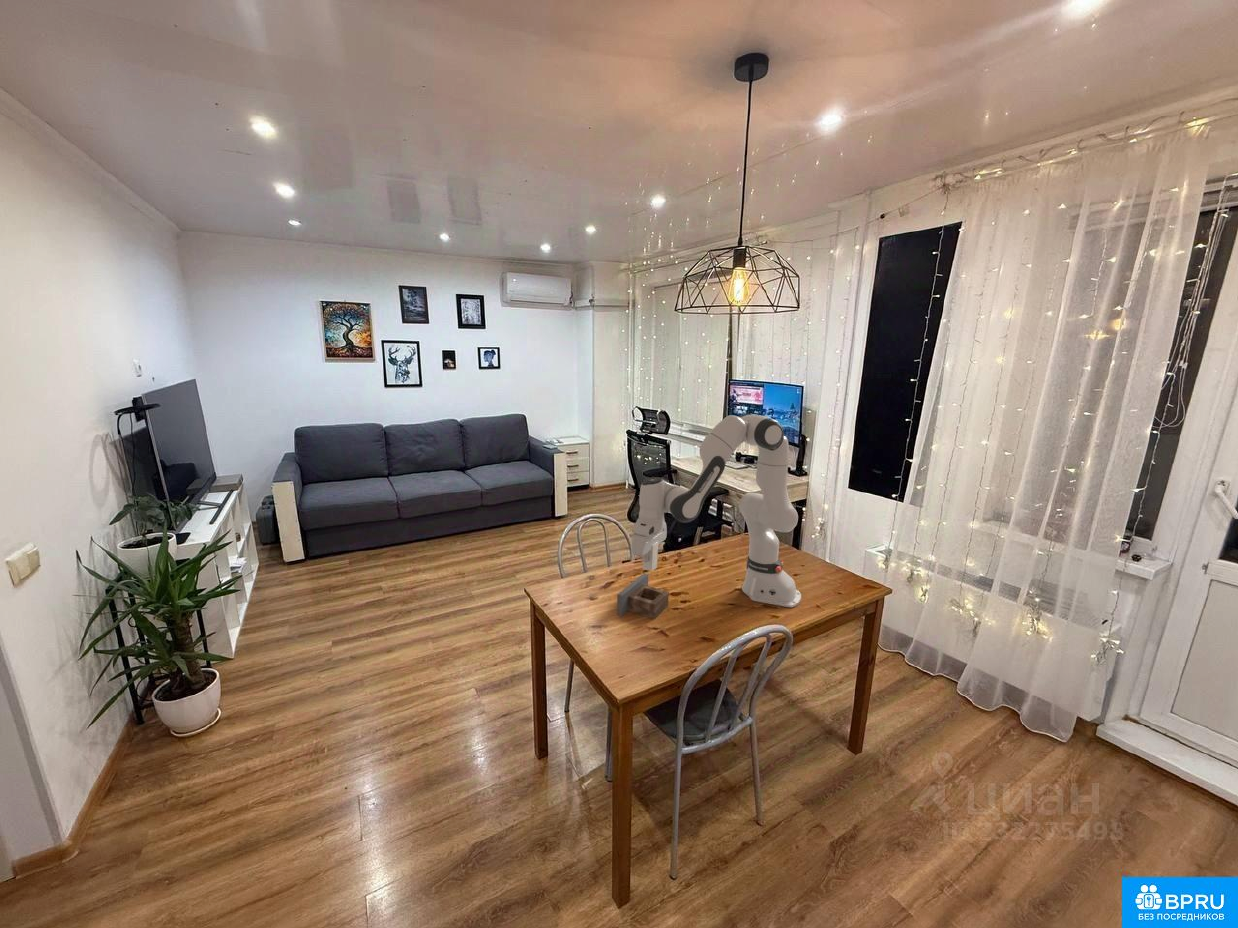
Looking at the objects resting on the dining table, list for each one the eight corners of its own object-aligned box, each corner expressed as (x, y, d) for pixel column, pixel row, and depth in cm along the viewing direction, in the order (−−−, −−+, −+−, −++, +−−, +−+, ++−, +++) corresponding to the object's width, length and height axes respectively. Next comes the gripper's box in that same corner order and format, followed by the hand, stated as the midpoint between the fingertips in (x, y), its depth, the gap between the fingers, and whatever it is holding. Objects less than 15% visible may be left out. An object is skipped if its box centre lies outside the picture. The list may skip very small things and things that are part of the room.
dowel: (647, 564, 182) (648, 539, 179) (657, 567, 180) (658, 541, 177) (642, 568, 179) (642, 542, 176) (652, 571, 177) (652, 545, 174)
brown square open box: (668, 606, 185) (668, 591, 183) (654, 619, 176) (655, 604, 174) (642, 598, 190) (642, 584, 189) (627, 611, 181) (628, 596, 180)
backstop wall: (647, 592, 194) (648, 574, 192) (621, 615, 178) (622, 595, 176) (643, 591, 195) (643, 572, 193) (617, 614, 179) (617, 594, 177)
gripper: (656, 512, 185) (655, 547, 189) (629, 529, 168) (628, 566, 172) (671, 516, 182) (670, 550, 185) (645, 533, 165) (644, 571, 168)
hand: (649, 558), depth 178 cm, fingers closed on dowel, 4 cm apart
